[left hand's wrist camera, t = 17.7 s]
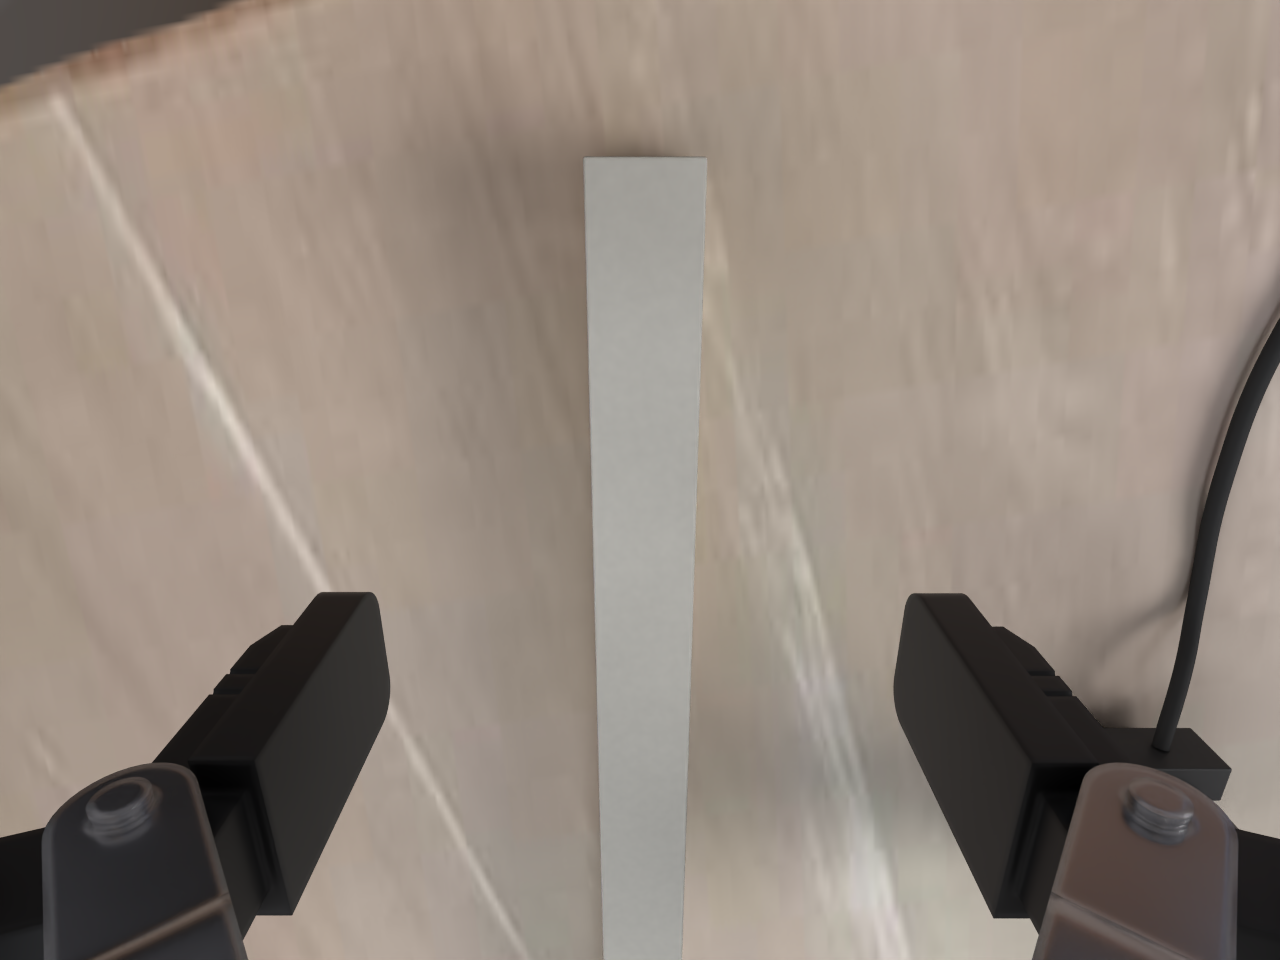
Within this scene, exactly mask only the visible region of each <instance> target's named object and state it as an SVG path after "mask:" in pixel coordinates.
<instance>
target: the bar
mask: <svg viewBox="0 0 1280 960" xmlns="http://www.w3.org/2000/svg"><path fill="white" fill-rule="evenodd" d="M583 173H584V213H585V253H586V294H587V334H588V374H589V414H590V454H591V494H592V534H593V574H594V614H595V654H596V694H597V734H598V774H599V814H600V854H601V894H602V934H603V960H682V943H683V911H684V880H685V848H686V817H687V785H688V754H689V722H690V690H691V659H692V627H693V596H694V564H695V532H696V501H697V469H698V438H699V406H700V375H701V343H702V311H703V280H704V248H705V217H706V185H707V157H584V158H583Z"/></svg>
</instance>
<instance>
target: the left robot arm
mask: <svg viewBox="0 0 1280 960" xmlns="http://www.w3.org/2000/svg"><path fill="white" fill-rule="evenodd" d="M1279 363H1280V319H1279V320H1278V322H1277V324H1276V326H1275V327H1274V329H1273V331H1272V333H1271V334H1270V336H1269V338H1268V340H1267V342H1266V344H1265V346H1264V347H1263V349H1262V351H1261V353H1260V355H1259V357H1258V359H1257V361H1256V363H1255V365H1254V367H1253V369H1252V371H1251V374H1250V376H1249V378H1248V380H1247V382H1246V385H1245V387H1244V389H1243V391H1242V394H1241V396H1240V399H1239V401H1238V404H1237V406H1236V409H1235V412H1234V414H1233V417H1232V420H1231V423H1230V426H1229V428H1228V431H1227V434H1226V437H1225V440H1224V444H1223V447H1222V450H1221V453H1220V456H1219V459H1218V463H1217V466H1216V469H1215V472H1214V476H1213V479H1212V482H1211V486H1210V489H1209V493H1208V497H1207V500H1206V504H1205V508H1204V512H1203V517H1202V521H1201V526H1200V531H1199V536H1198V541H1197V547H1196V553H1195V558H1194V564H1193V570H1192V576H1191V582H1190V587H1189V593H1188V598H1187V603H1186V608H1185V613H1184V619H1183V624H1182V630H1181V636H1180V641H1179V647H1178V652H1177V656H1176V661H1175V665H1174V669H1173V673H1172V677H1171V680H1170V684H1169V687H1168V691H1167V694H1166V698H1165V701H1164V704H1163V708H1162V711H1161V714H1160V717H1159V720H1158V724H1157V727H1156V728H1103V727H1102V726H1101V725H1100V724H1099V723H1098V722H1097V720H1096V719H1095V718H1094V717H1093V716H1092V714H1091V713H1090V712H1089V711H1088V710H1087V709H1086V707H1085V706H1084V705H1083V704H1082V703H1081V701H1080V700H1079V699H1078V698H1077V697H1076V696H1072V691H1071V690H1070V688H1069V687H1068V686H1067V685H1066V684H1065V683H1064V681H1063V680H1062V679H1061V678H1060V677H1059V676H1055V671H1054V670H1053V668H1052V667H1051V666H1050V665H1049V664H1048V663H1047V661H1046V660H1045V659H1044V658H1043V657H1042V655H1041V654H1040V653H1039V652H1038V651H1037V650H1036V648H1035V647H1033V646H1032V645H1030V644H1029V643H1027V642H1026V641H1024V640H1023V639H1021V638H1020V637H1018V636H1017V635H1015V634H1013V633H1012V632H1010V631H1009V630H1007V629H1006V628H1004V627H992V626H991V625H990V624H989V623H988V621H987V620H986V619H985V618H984V616H983V615H982V614H981V613H980V611H979V610H978V609H977V607H976V606H975V605H974V604H973V602H972V601H971V600H970V599H969V598H968V596H966V595H965V594H962V593H914V594H911V595H910V596H909V598H908V600H907V602H906V605H905V610H904V617H903V624H902V630H901V637H900V643H899V650H898V656H897V663H896V670H895V676H894V702H895V708H896V712H897V716H898V719H899V722H900V724H901V726H902V729H903V731H904V733H905V735H906V737H907V739H908V741H909V743H910V745H911V747H912V749H913V751H914V754H915V756H916V758H917V760H918V762H919V764H920V766H921V768H922V770H923V772H924V774H925V776H926V779H927V781H928V783H929V785H930V787H931V789H932V791H933V793H934V795H935V797H936V799H937V801H938V804H939V806H940V808H941V810H942V812H943V814H944V816H945V818H946V820H947V822H948V824H949V826H950V829H951V831H952V833H953V835H954V837H955V839H956V841H957V843H958V845H959V847H960V849H961V851H962V854H963V856H964V858H965V860H966V862H967V864H968V866H969V868H970V870H971V872H972V874H973V876H974V879H975V881H976V883H977V885H978V887H979V889H980V891H981V893H982V895H983V897H984V899H985V901H986V904H987V906H988V908H989V910H990V912H991V914H992V916H993V918H1030V919H1031V921H1032V923H1033V925H1034V927H1035V928H1036V930H1037V932H1038V934H1039V936H1038V940H1037V943H1036V947H1035V951H1034V954H1033V958H1032V960H1280V839H1277V838H1273V837H1269V836H1264V835H1260V834H1256V833H1251V832H1247V831H1243V830H1239V829H1238V828H1237V827H1236V826H1235V825H1234V823H1233V822H1232V821H1231V820H1230V819H1229V818H1228V816H1227V815H1226V814H1225V813H1224V812H1223V810H1222V809H1221V808H1220V807H1219V806H1218V805H1217V804H1216V803H1214V802H1213V801H1219V800H1221V797H1222V794H1223V792H1224V789H1225V786H1226V784H1227V781H1228V778H1229V776H1230V773H1231V768H1230V767H1229V766H1228V765H1227V764H1226V763H1225V762H1224V761H1223V760H1222V759H1221V758H1220V757H1219V756H1218V755H1217V754H1216V753H1215V752H1214V751H1213V750H1212V749H1211V748H1210V747H1209V746H1208V745H1207V744H1206V743H1205V742H1204V741H1203V740H1202V739H1201V738H1200V737H1199V736H1198V735H1197V734H1196V733H1195V732H1194V731H1193V730H1192V729H1191V728H1176V727H1177V724H1178V721H1179V718H1180V715H1181V711H1182V708H1183V705H1184V702H1185V698H1186V695H1187V691H1188V688H1189V684H1190V680H1191V676H1192V672H1193V668H1194V664H1195V659H1196V655H1197V650H1198V644H1199V638H1200V632H1201V626H1202V621H1203V615H1204V610H1205V605H1206V600H1207V595H1208V590H1209V584H1210V579H1211V573H1212V568H1213V562H1214V557H1215V551H1216V546H1217V541H1218V536H1219V532H1220V527H1221V523H1222V519H1223V515H1224V511H1225V507H1226V504H1227V500H1228V497H1229V493H1230V490H1231V487H1232V484H1233V480H1234V477H1235V474H1236V471H1237V468H1238V465H1239V462H1240V459H1241V455H1242V452H1243V449H1244V446H1245V443H1246V440H1247V437H1248V435H1249V432H1250V429H1251V426H1252V423H1253V421H1254V418H1255V416H1256V413H1257V410H1258V408H1259V406H1260V403H1261V401H1262V398H1263V396H1264V394H1265V391H1266V389H1267V387H1268V385H1269V383H1270V381H1271V379H1272V377H1273V375H1274V372H1275V370H1276V368H1277V366H1278V365H1279ZM389 699H390V676H389V669H388V663H387V656H386V649H385V643H384V636H383V629H382V623H381V616H380V609H379V604H378V601H377V598H376V596H375V595H374V594H373V593H371V592H321V593H319V594H318V595H317V596H316V597H315V598H314V599H313V600H312V602H311V603H310V604H309V606H308V607H307V608H306V609H305V611H304V612H303V613H302V614H301V616H300V617H299V618H298V620H297V621H296V622H295V623H294V625H281V626H280V627H278V628H277V629H275V630H274V631H272V632H270V633H269V634H267V635H266V636H264V637H263V638H261V639H260V640H258V641H257V642H255V643H254V644H252V645H251V646H250V647H249V648H248V649H247V650H246V651H245V653H244V654H243V655H242V656H241V657H240V659H239V660H238V661H237V662H236V663H235V664H234V666H233V667H232V668H231V669H230V674H226V675H225V676H224V678H223V679H222V680H221V681H220V682H219V684H218V685H217V686H216V687H215V688H214V693H213V695H208V697H207V698H206V699H205V700H204V701H203V703H202V704H201V705H200V706H199V707H198V709H197V710H196V711H195V712H194V713H193V715H192V716H191V717H190V718H189V719H188V720H187V722H186V723H185V724H184V725H183V726H182V728H181V729H180V730H179V731H178V732H177V734H176V735H175V736H174V737H173V738H172V740H171V741H170V742H169V743H168V744H167V745H166V747H165V748H164V749H163V750H162V751H161V753H160V754H159V755H158V756H157V757H156V759H155V760H154V761H153V762H152V763H150V764H143V765H138V766H134V767H130V768H127V769H124V770H121V771H118V772H115V773H113V774H111V775H108V776H106V777H104V778H102V779H100V780H98V781H96V782H94V783H92V784H90V785H89V786H87V787H86V788H84V789H82V790H81V791H79V792H78V793H77V794H75V795H74V796H73V797H71V798H70V799H69V800H68V801H67V802H66V803H64V804H63V805H62V806H61V807H60V808H59V809H58V810H57V812H56V813H55V814H54V815H53V816H52V818H51V819H50V821H49V822H48V824H47V825H46V827H45V828H41V829H36V830H32V831H28V832H23V833H19V834H15V835H10V836H6V837H2V838H0V960H248V958H247V954H246V951H245V947H244V943H243V939H244V937H245V935H246V933H247V932H248V930H249V928H250V926H251V924H252V922H253V920H254V918H255V916H256V915H293V912H294V910H295V908H296V906H297V904H298V902H299V900H300V898H301V896H302V893H303V891H304V889H305V887H306V885H307V883H308V881H309V879H310V877H311V874H312V872H313V870H314V868H315V866H316V864H317V862H318V860H319V858H320V855H321V853H322V851H323V849H324V847H325V845H326V843H327V841H328V839H329V837H330V834H331V832H332V830H333V828H334V826H335V824H336V822H337V820H338V818H339V815H340V813H341V811H342V809H343V807H344V805H345V803H346V801H347V799H348V796H349V794H350V792H351V790H352V788H353V786H354V784H355V782H356V780H357V777H358V775H359V773H360V771H361V769H362V767H363V765H364V763H365V761H366V758H367V756H368V754H369V752H370V750H371V748H372V746H373V744H374V742H375V739H376V737H377V735H378V733H379V731H380V729H381V727H382V725H383V723H384V720H385V717H386V714H387V710H388V705H389Z"/></svg>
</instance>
